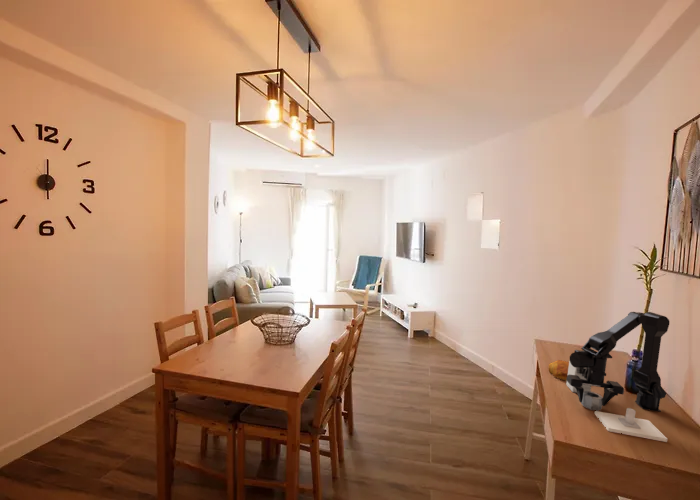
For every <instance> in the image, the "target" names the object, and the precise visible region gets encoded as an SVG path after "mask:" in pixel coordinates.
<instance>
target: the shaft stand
mask: <svg viewBox="0 0 700 500" xmlns="http://www.w3.org/2000/svg"><path fill="white" fill-rule="evenodd" d="M594 415H595V416H596V418H597V419H598V418H599V419H598V420H599V422H600V423H601V422H602V423H601V424H602V425H603V427H604V428H605V427H606V428H605V429H606V430H607V431H608V432H611V433H615V434H621V433H622V434H621V435H628V436H632V437H638V438H645V439H649V440H654V441H660V442H665V443H668V437H666V436H665V435H664V434H663V433H662V432H661V431H660V430H659V429H658V428H657V427H656V426H655V425H654V424H653V423H652V422H651V421H650V420H649V419H643V418H640V417H639V418H637V417H636V409H633V408H631V407H626V412H625V415H623V414H622V415H621V414H617V413H616V414H615V413H609V412H603V411H594Z"/></svg>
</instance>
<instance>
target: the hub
mask: <svg viewBox="0 0 700 500" xmlns="http://www.w3.org/2000/svg"><path fill="white" fill-rule="evenodd" d="M602 403H603V396H602V395H601V394H599V393H597V392H595V391H592V390H591V391H584V392H583V399H582V402H580V404H581V405H582V406H583V407H584V408H586V409H587V410H590V411H594V410H596V411H599V410H600V411H602V410H603V409H602V408H603V406H602ZM601 409H602V410H601ZM600 411H599V412H600Z"/></svg>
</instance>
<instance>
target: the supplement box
mask: <svg viewBox="0 0 700 500" xmlns="http://www.w3.org/2000/svg"><path fill="white" fill-rule="evenodd" d="M568 362H569V368H568V375H569V374H570V375H576V376H579V378H580V379H583V380H586V379H585V378H584V376H582V374H580V373H577V367H573V366H572V365H571V363H570V359H569V361H568ZM584 369H586V368H584ZM568 375H567V376H568ZM565 385H566V386H567V388H569V390H570V391H571V392H572V393H576V394H578V393H577V390H576V388H575V387H574V386H571V385H570V384H569V383H568V381H566V384H565ZM582 387H583V389H584V391H591V392H592V386H590V385H584V384H582Z"/></svg>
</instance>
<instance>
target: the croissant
mask: <svg viewBox="0 0 700 500" xmlns="http://www.w3.org/2000/svg"><path fill="white" fill-rule="evenodd" d="M568 368H569V361H565V360H562V359H561V360H560V359H557V360H555V361H553V362H551V363H549V364H548V367H547V369H548V372H549V373H550V374H551V375H552V376H553V378H557V379H558V380H561V381H566V382H567V375H568Z"/></svg>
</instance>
